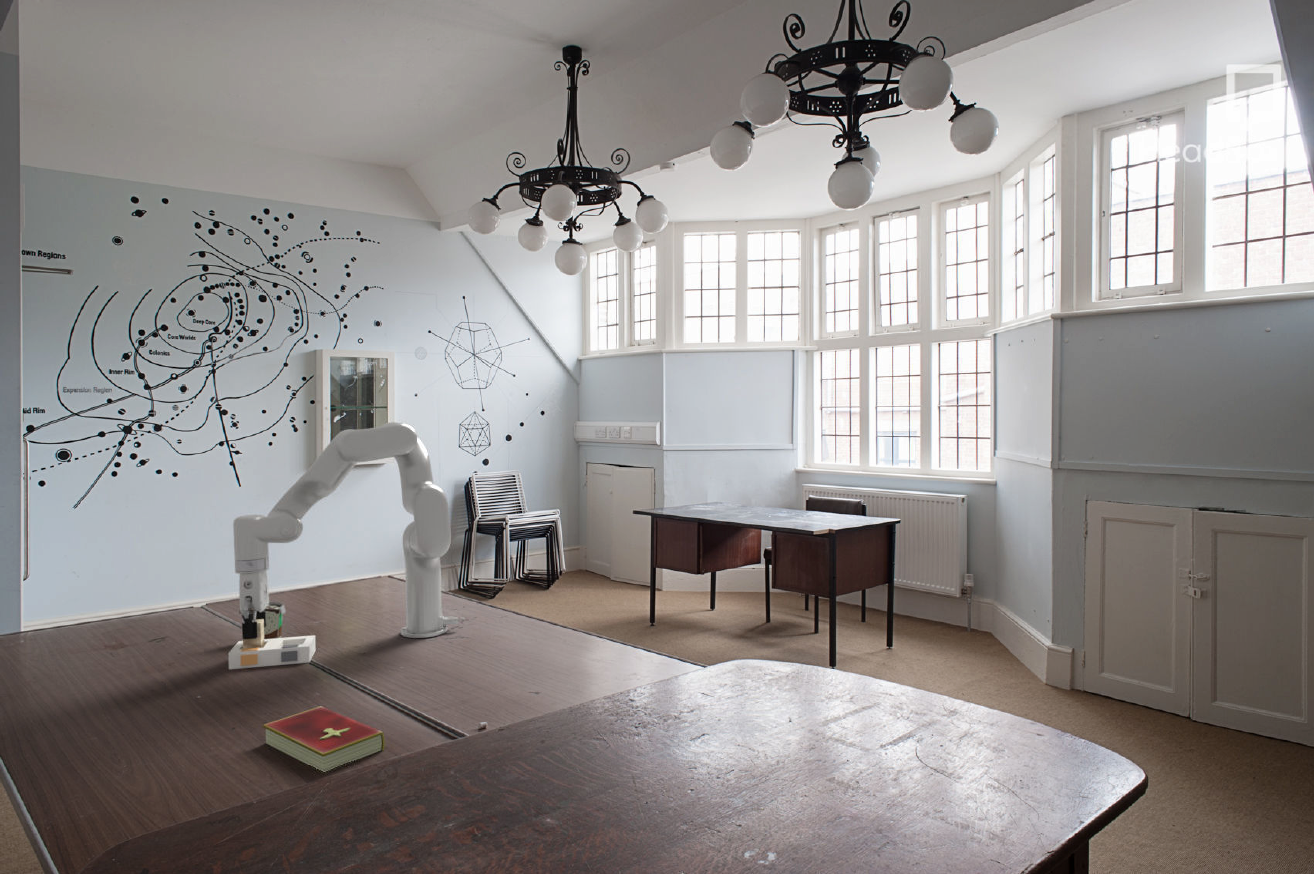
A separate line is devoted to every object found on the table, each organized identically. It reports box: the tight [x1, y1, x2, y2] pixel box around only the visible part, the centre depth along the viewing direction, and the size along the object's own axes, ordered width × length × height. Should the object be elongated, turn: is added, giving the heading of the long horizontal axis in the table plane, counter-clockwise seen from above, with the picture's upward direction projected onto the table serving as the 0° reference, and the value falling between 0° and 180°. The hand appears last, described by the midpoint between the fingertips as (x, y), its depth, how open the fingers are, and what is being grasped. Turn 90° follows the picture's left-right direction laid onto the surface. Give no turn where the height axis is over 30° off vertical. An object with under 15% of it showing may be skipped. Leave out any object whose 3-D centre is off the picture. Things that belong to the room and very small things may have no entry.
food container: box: [238, 601, 287, 639], centre depth 212 cm, size 12×6×10 cm, turn 84°
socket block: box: [227, 635, 316, 670], centre depth 195 cm, size 18×10×4 cm, turn 106°
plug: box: [242, 619, 264, 649], centre depth 194 cm, size 4×4×10 cm
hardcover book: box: [262, 705, 386, 773], centre depth 144 cm, size 12×21×4 cm, turn 53°
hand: (254, 632), depth 194 cm, fingers open, 9 cm apart
